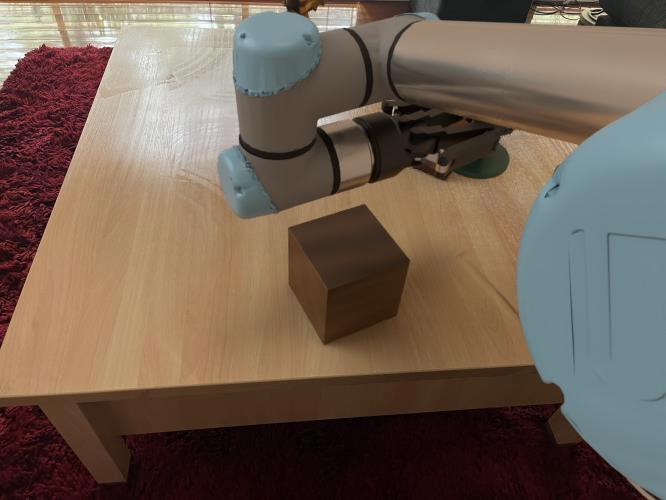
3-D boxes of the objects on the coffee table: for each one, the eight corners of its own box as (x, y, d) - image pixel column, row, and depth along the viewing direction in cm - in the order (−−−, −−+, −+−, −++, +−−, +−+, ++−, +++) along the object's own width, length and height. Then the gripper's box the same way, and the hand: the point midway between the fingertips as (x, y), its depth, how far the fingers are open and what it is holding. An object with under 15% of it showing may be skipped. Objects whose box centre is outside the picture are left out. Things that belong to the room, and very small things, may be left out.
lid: (522, 168, 68) (549, 101, 61) (466, 187, 65) (487, 118, 58) (478, 131, 74) (498, 65, 66) (424, 146, 70) (439, 78, 63)
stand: (397, 315, 77) (410, 260, 68) (323, 345, 72) (328, 290, 64) (357, 259, 84) (364, 203, 75) (288, 283, 79) (287, 227, 71)
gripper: (324, 141, 66) (472, 103, 74) (391, 221, 56) (552, 167, 65) (327, 87, 60) (486, 52, 69) (402, 165, 51) (576, 114, 59)
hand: (518, 108), depth 67 cm, fingers closed on lid, 3 cm apart
